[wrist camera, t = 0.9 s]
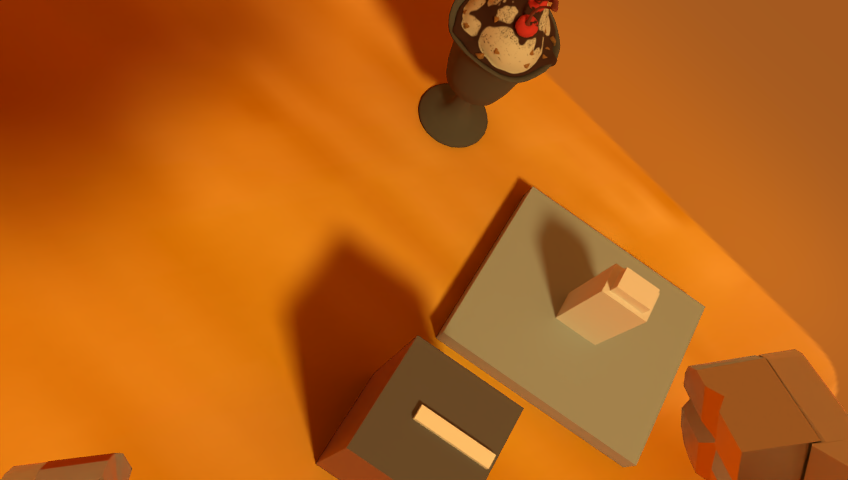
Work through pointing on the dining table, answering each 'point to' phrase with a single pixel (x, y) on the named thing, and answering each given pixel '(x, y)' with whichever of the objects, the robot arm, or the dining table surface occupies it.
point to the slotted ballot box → (421, 422)
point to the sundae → (488, 63)
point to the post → (575, 327)
